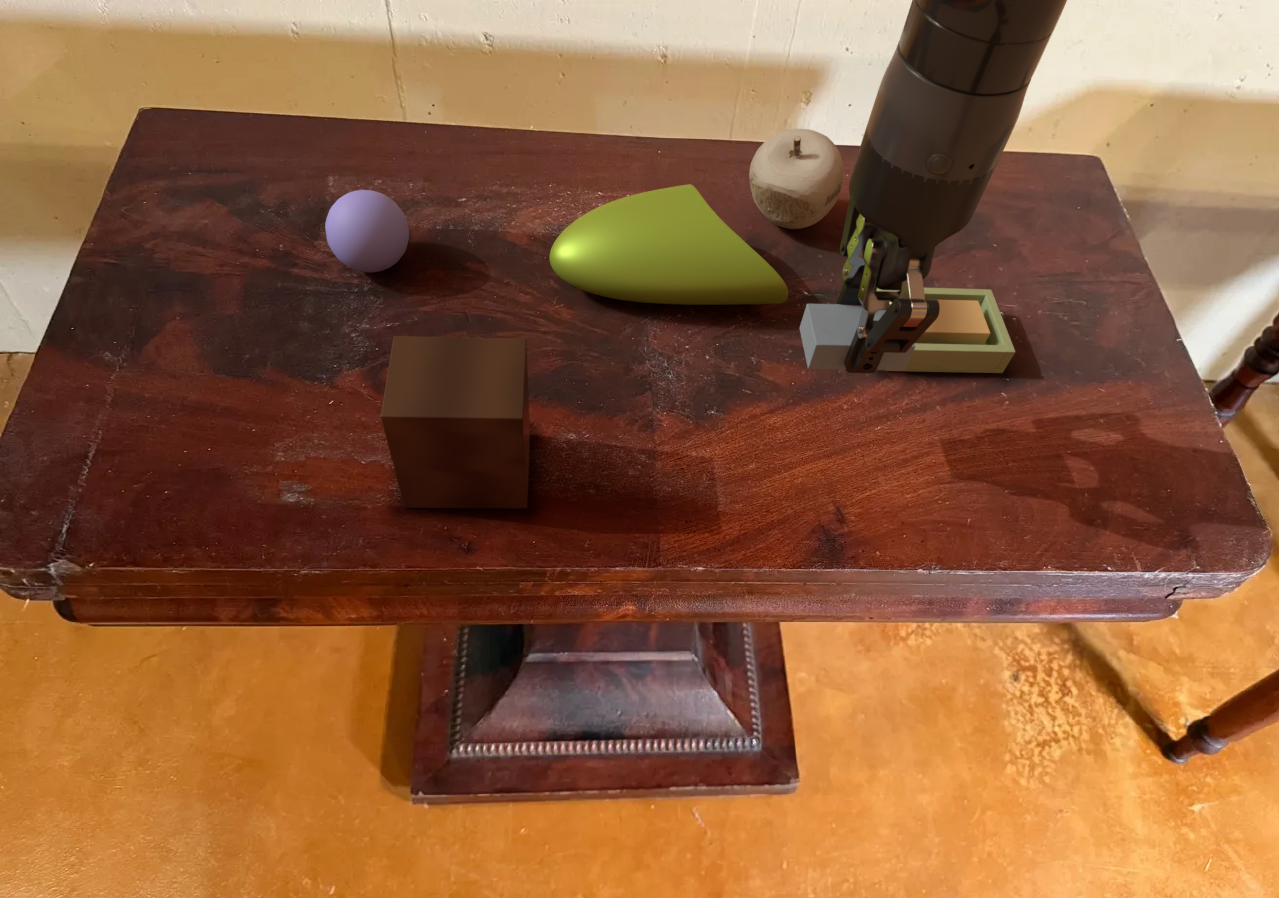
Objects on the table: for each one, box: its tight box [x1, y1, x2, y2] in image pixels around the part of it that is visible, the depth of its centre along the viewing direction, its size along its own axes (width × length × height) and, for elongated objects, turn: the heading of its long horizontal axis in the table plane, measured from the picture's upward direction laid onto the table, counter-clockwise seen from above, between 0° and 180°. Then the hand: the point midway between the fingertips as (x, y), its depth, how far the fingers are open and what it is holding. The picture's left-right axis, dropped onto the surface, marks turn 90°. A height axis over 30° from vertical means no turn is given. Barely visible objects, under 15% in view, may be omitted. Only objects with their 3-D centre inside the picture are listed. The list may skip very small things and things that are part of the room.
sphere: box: [324, 189, 410, 273], centre depth 77 cm, size 7×7×7 cm
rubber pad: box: [799, 303, 915, 371], centre depth 63 cm, size 7×4×2 cm, turn 93°
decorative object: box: [748, 128, 845, 230], centre depth 84 cm, size 9×9×10 cm
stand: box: [380, 335, 531, 510], centre depth 63 cm, size 9×7×11 cm
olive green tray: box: [876, 287, 1016, 374], centre depth 78 cm, size 11×8×3 cm
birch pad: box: [915, 300, 990, 345], centre depth 78 cm, size 7×4×2 cm, turn 92°
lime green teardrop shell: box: [549, 183, 789, 306], centre depth 78 cm, size 8×12×20 cm
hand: (852, 344), depth 63 cm, fingers closed on rubber pad, 4 cm apart
